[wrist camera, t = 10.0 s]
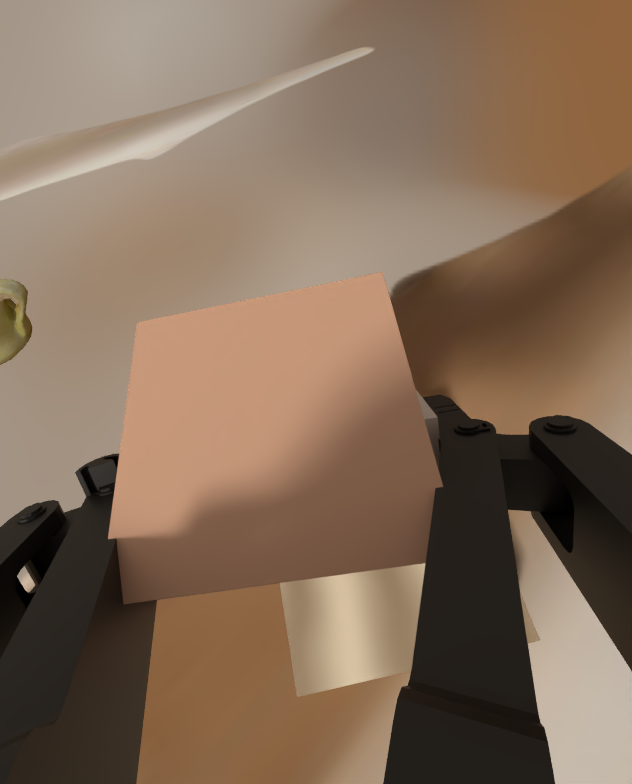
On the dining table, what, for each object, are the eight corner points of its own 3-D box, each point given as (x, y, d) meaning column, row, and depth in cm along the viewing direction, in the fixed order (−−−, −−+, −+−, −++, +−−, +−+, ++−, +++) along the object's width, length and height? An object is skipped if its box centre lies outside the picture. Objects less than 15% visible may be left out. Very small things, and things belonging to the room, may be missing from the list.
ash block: (434, 436, 31) (444, 414, 26) (509, 626, 24) (540, 640, 20) (278, 476, 31) (261, 462, 27) (311, 673, 25) (297, 697, 20)
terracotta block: (380, 421, 19) (382, 272, 10) (411, 563, 16) (463, 557, 6) (255, 442, 20) (137, 322, 10) (261, 583, 17) (98, 607, 7)
